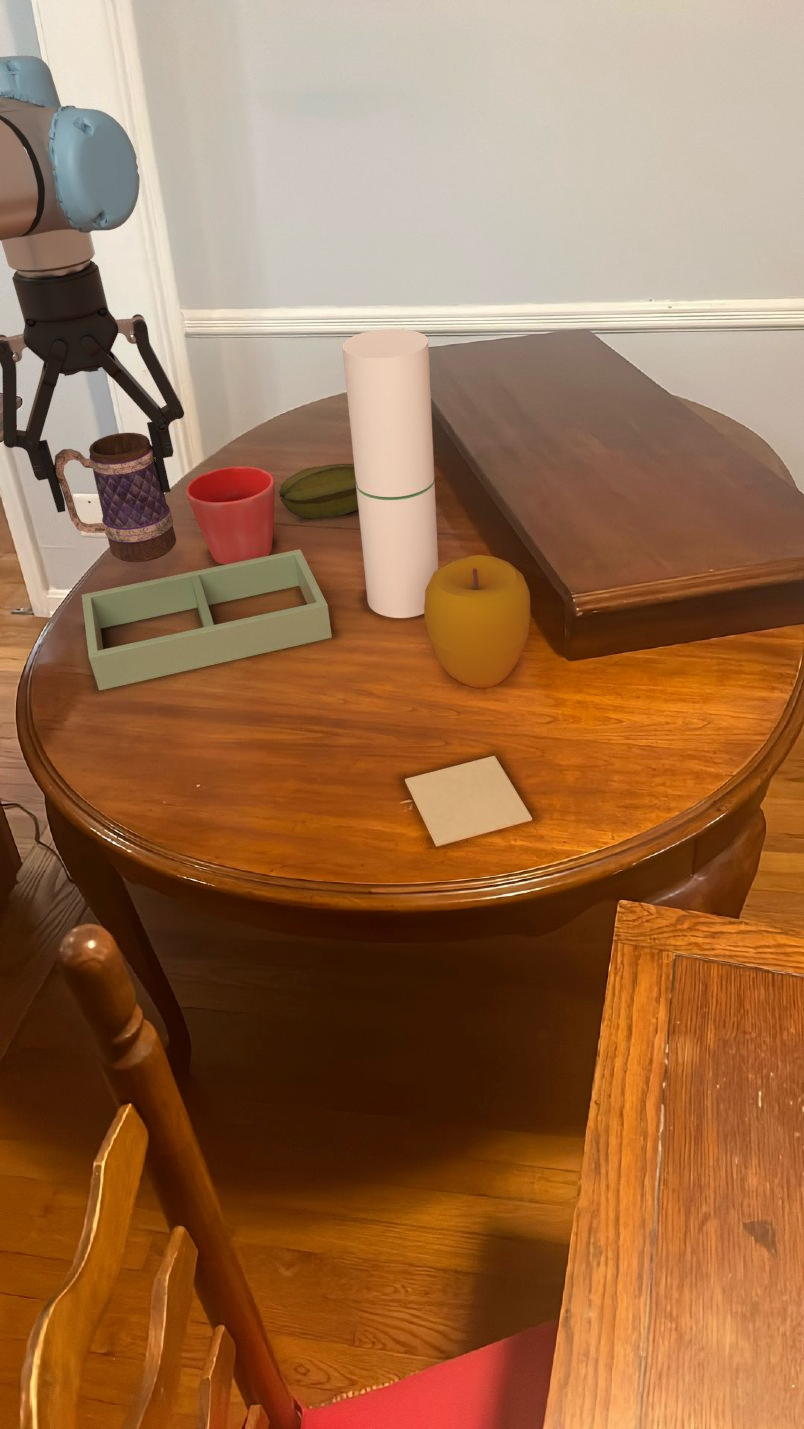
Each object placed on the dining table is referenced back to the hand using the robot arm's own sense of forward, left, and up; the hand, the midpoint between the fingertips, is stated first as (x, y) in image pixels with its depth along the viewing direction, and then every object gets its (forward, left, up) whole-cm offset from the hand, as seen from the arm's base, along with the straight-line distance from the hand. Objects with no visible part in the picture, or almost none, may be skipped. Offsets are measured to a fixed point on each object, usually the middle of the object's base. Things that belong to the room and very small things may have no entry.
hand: (113, 496), depth 102 cm
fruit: (+27, +23, -19) cm, 41 cm away
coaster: (+24, -37, -19) cm, 48 cm away
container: (+29, -2, -19) cm, 35 cm away
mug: (0, 0, -6) cm, 6 cm away
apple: (+32, -19, -19) cm, 42 cm away
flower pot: (+13, +17, -19) cm, 29 cm away
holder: (+6, 0, -19) cm, 20 cm away
